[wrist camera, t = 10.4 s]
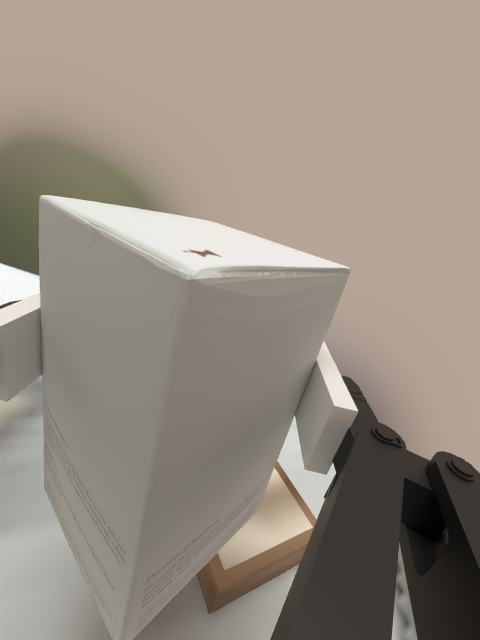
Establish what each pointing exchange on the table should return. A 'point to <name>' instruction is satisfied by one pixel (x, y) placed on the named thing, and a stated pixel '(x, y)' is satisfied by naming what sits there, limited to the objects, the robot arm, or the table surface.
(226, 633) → the table surface
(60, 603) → the table surface
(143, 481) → the supplement box
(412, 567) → the robot arm
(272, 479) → the walnut base
